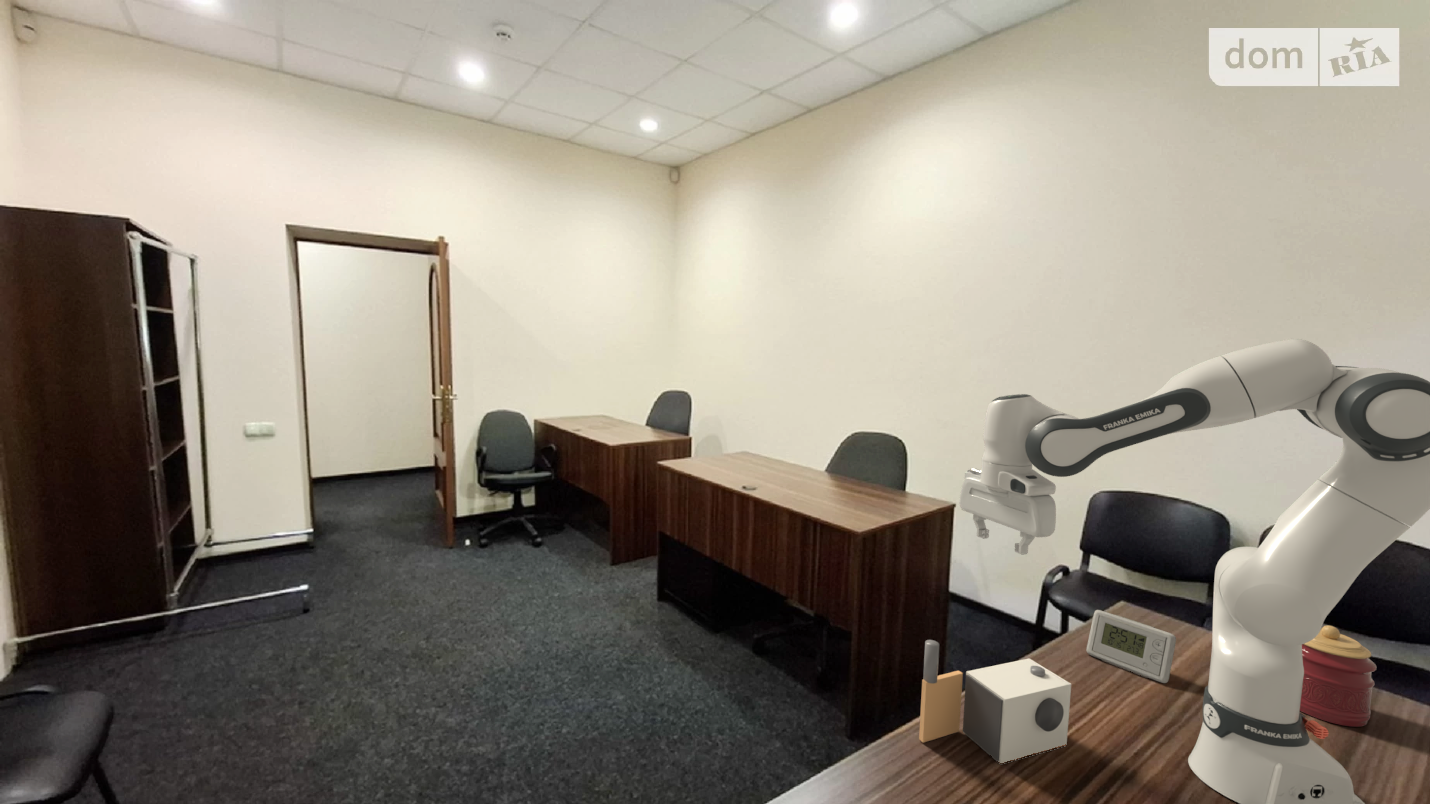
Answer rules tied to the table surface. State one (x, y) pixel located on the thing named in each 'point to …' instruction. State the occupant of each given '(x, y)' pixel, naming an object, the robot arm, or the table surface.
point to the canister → (1337, 679)
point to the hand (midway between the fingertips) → (1001, 545)
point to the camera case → (1016, 709)
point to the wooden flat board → (939, 697)
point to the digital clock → (1131, 645)
